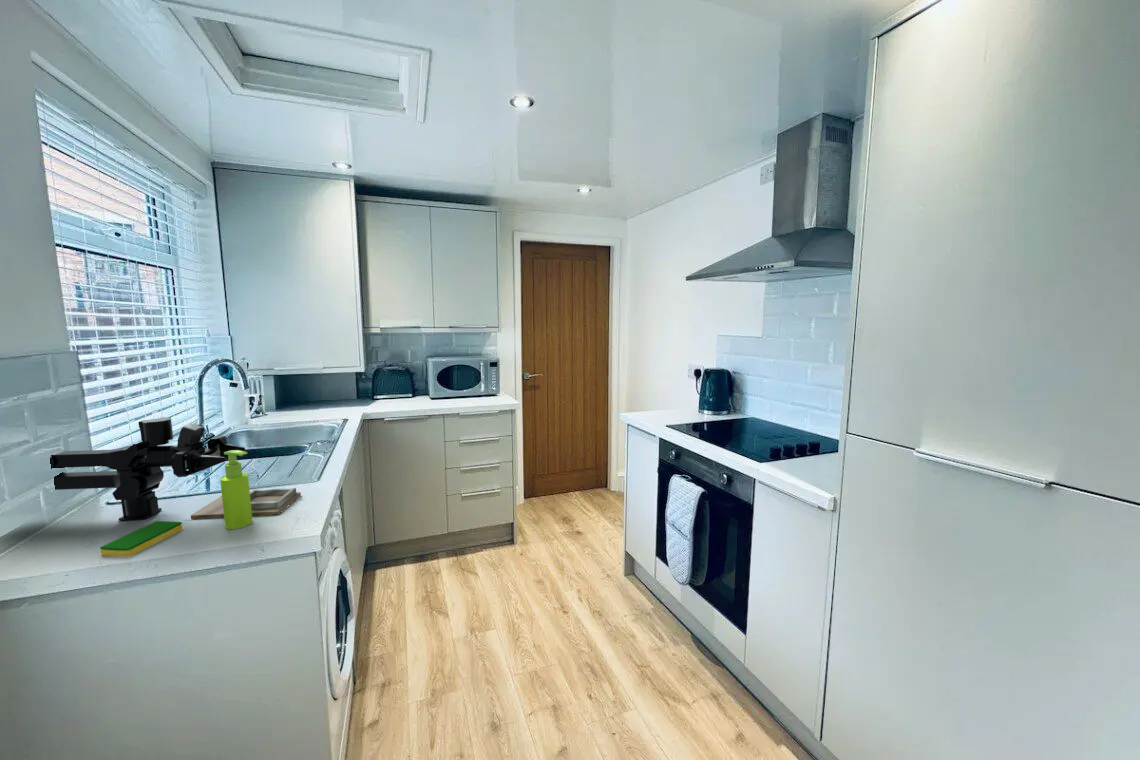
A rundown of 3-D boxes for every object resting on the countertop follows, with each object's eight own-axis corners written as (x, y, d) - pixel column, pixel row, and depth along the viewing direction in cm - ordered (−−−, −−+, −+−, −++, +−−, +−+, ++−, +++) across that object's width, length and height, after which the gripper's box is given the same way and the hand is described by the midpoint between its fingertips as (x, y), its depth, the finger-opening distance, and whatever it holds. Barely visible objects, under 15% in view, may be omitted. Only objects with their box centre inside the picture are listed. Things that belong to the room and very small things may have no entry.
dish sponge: (100, 557, 106) (98, 547, 105) (157, 529, 119) (156, 520, 119) (129, 558, 105) (127, 548, 105) (183, 530, 119) (182, 521, 118)
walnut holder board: (191, 518, 124) (189, 509, 124) (222, 498, 138) (221, 490, 138) (278, 514, 127) (277, 505, 127) (300, 495, 141) (300, 487, 140)
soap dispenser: (241, 530, 118) (234, 455, 115) (219, 528, 119) (211, 453, 116) (261, 520, 123) (254, 448, 121) (239, 518, 125) (232, 447, 122)
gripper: (142, 436, 115) (211, 434, 117) (193, 419, 133) (251, 418, 135) (148, 478, 116) (215, 476, 118) (197, 456, 135) (254, 454, 137)
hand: (235, 454), depth 127 cm, fingers open, 9 cm apart
